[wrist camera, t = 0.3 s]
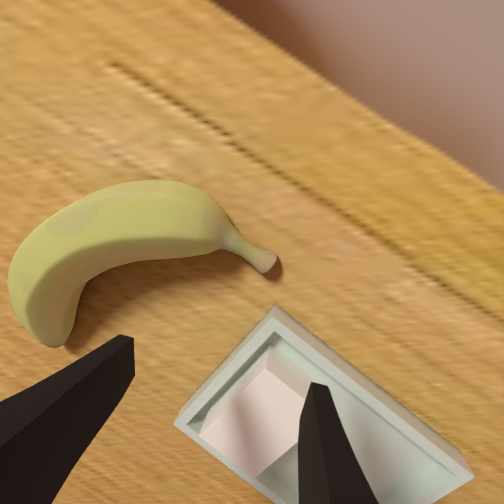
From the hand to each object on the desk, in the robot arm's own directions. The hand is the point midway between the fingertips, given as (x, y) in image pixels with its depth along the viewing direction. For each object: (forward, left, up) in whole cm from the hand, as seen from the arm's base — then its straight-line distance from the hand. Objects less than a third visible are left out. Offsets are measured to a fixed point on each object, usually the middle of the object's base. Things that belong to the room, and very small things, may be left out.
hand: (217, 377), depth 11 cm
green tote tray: (-7, -11, -10) cm, 17 cm away
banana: (-5, +7, -11) cm, 14 cm away
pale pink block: (-7, -6, -10) cm, 13 cm away
